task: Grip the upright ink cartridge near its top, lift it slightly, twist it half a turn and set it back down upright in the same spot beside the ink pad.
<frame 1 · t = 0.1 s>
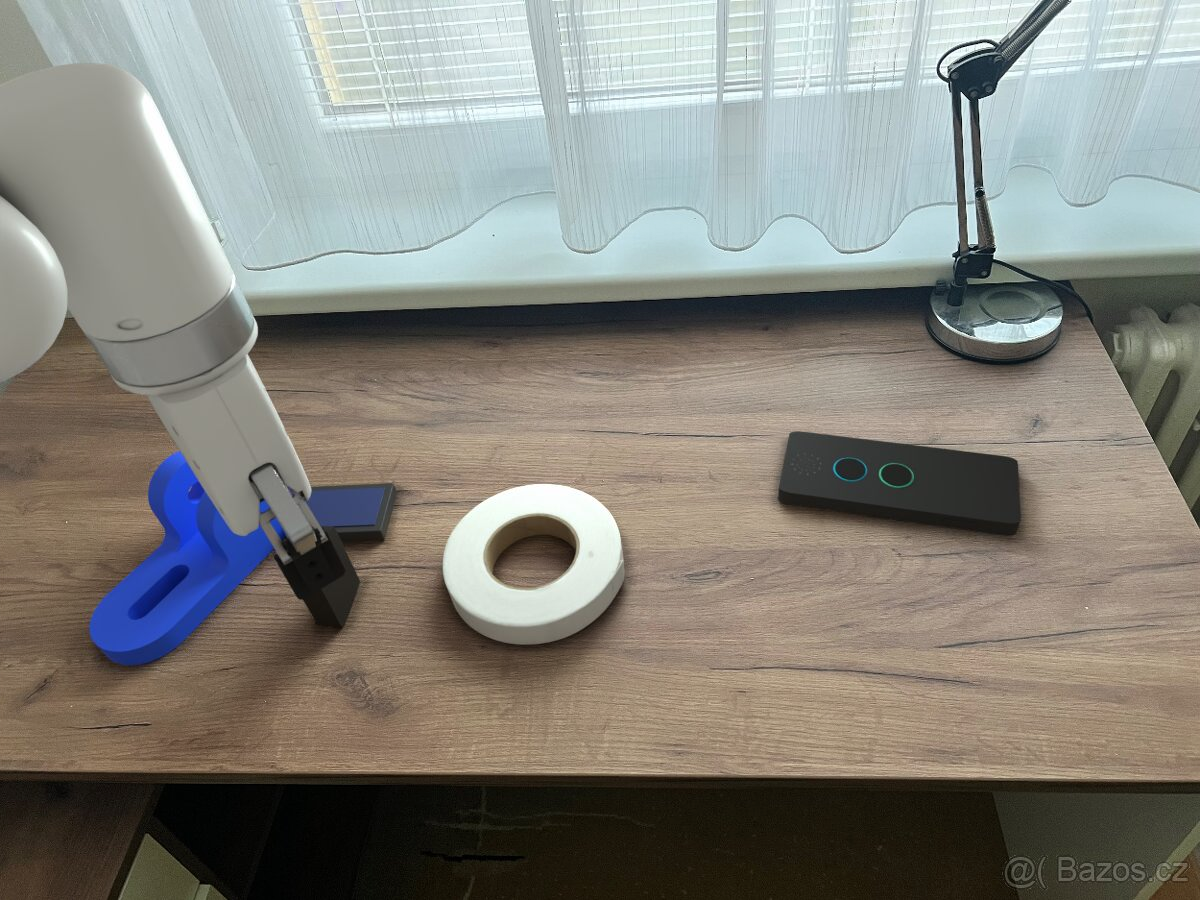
hand: (289, 539, 57), 18 cm above the table, tool pointing down, fingers open, 9 cm apart
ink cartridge: (340, 606, 76), on the table
tape roll: (537, 571, 76), on the table
ink pad: (345, 517, 83), on the table
smart home device: (894, 487, 79), on the table
bracket: (194, 583, 79), on the table
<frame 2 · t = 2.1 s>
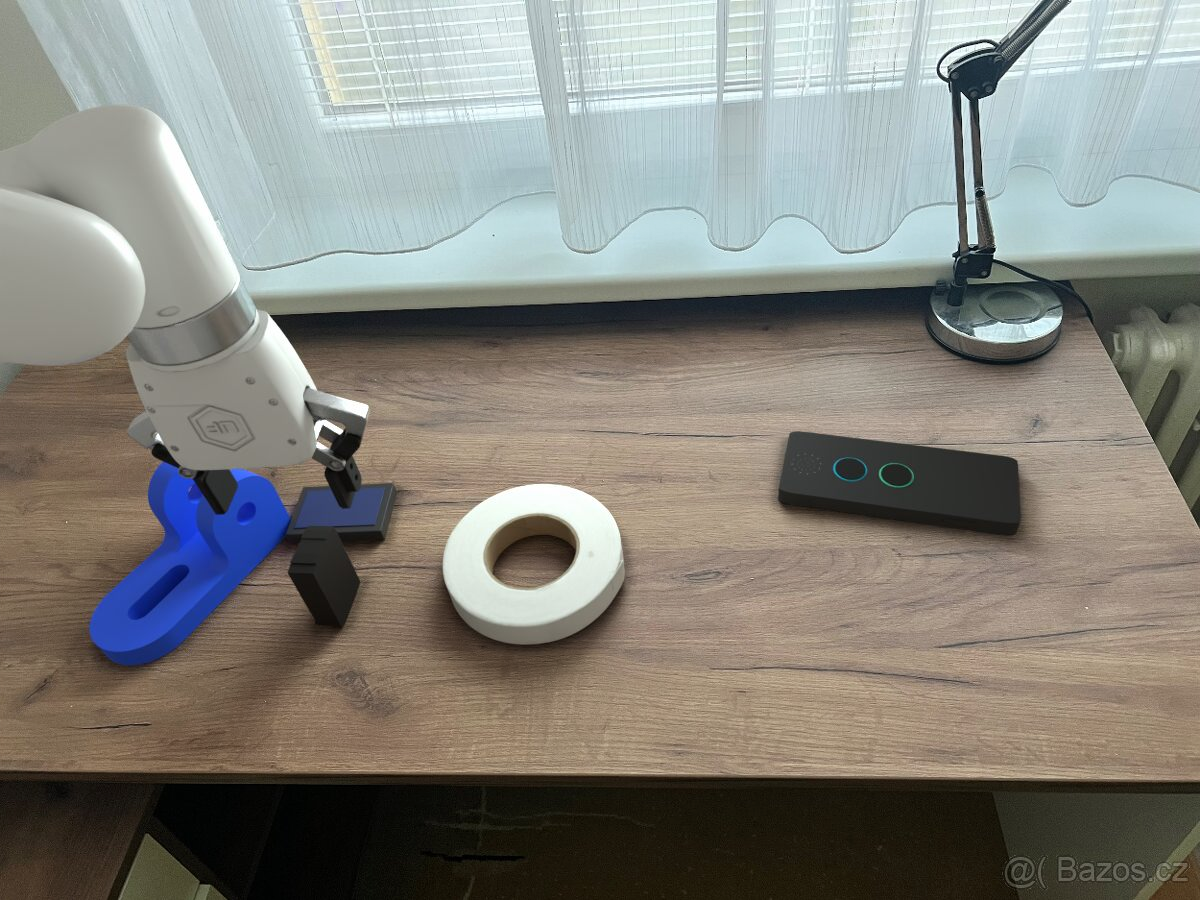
hand: (289, 497, 66), 13 cm above the table, tool pointing down, fingers open, 9 cm apart
nothing on the table moved.
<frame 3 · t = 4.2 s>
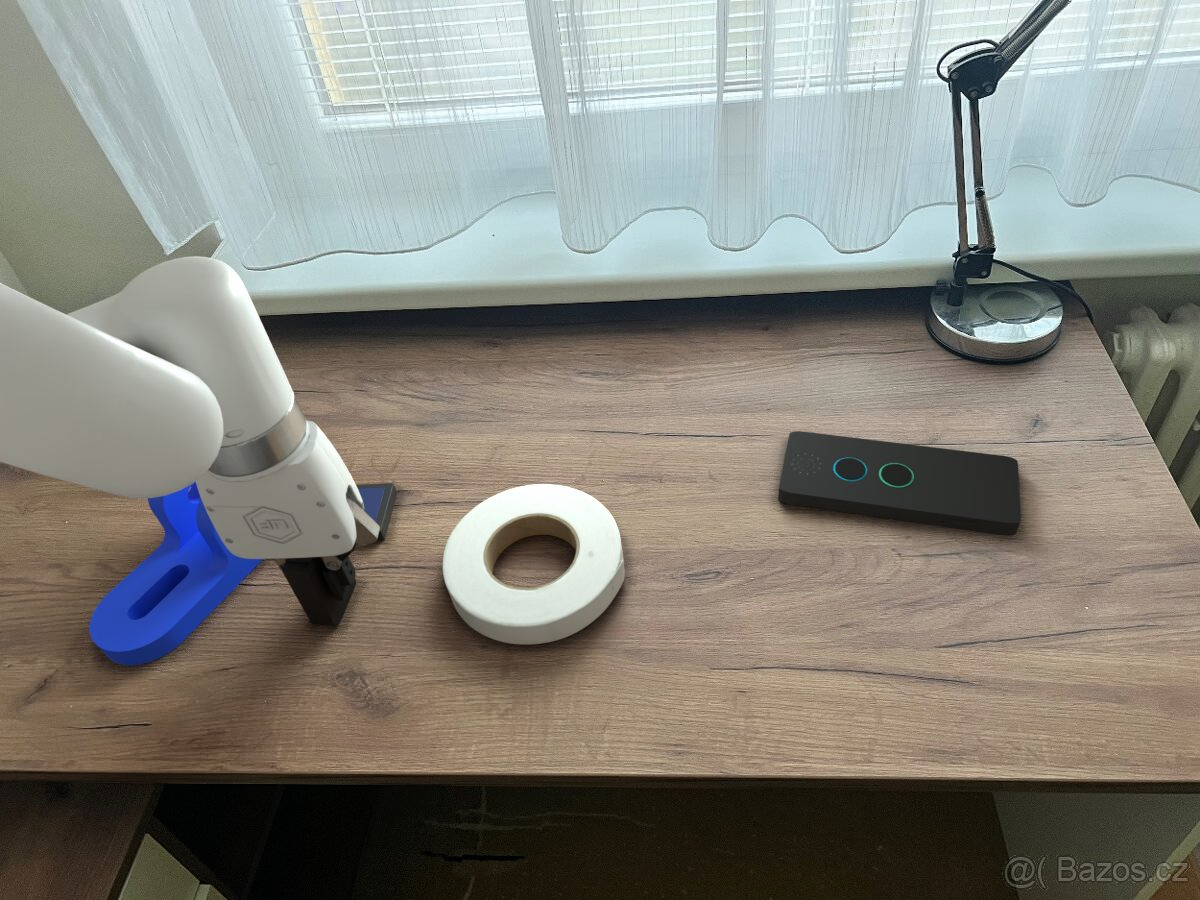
hand: (331, 586, 74), 3 cm above the table, tool pointing down, fingers closed on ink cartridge
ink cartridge: (335, 605, 76), on the table, touching gripper
everything else where it was.
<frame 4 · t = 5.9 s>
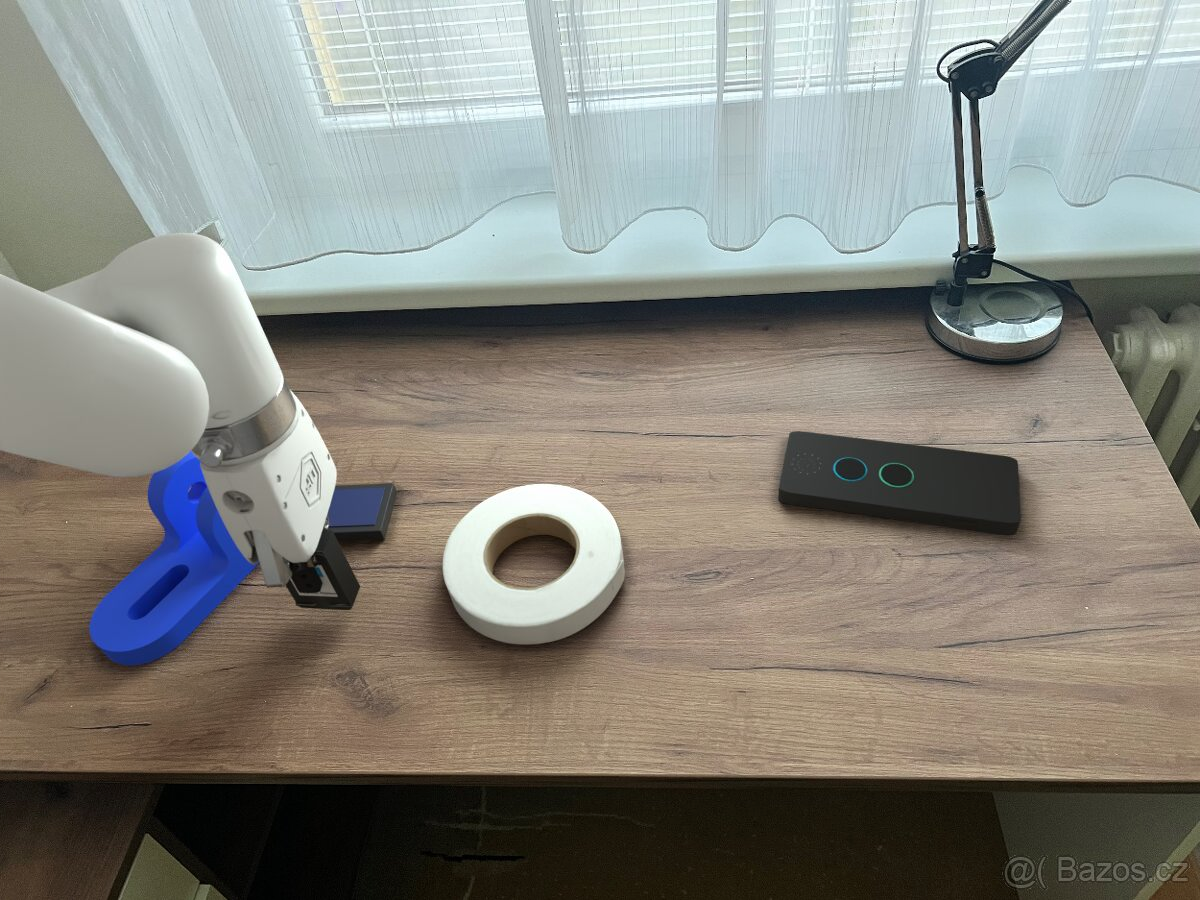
hand: (322, 575, 72), 4 cm above the table, tool pointing down, fingers closed on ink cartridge
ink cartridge: (331, 600, 74), point 2 cm above the table, touching gripper
everything else where it was.
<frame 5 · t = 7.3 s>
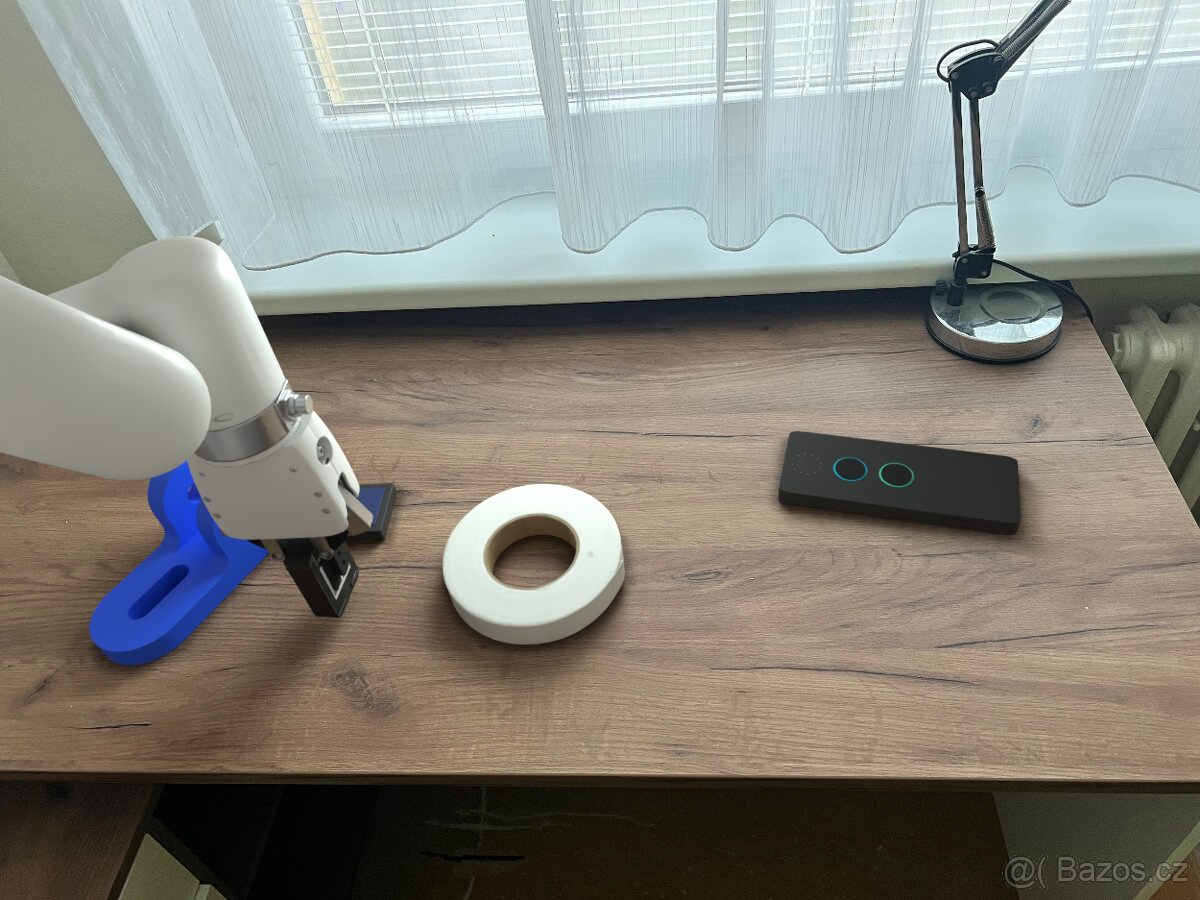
hand: (324, 576, 73), 4 cm above the table, tool pointing down, fingers closed on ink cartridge
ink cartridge: (339, 596, 74), point 1 cm above the table, touching gripper
everything else where it was.
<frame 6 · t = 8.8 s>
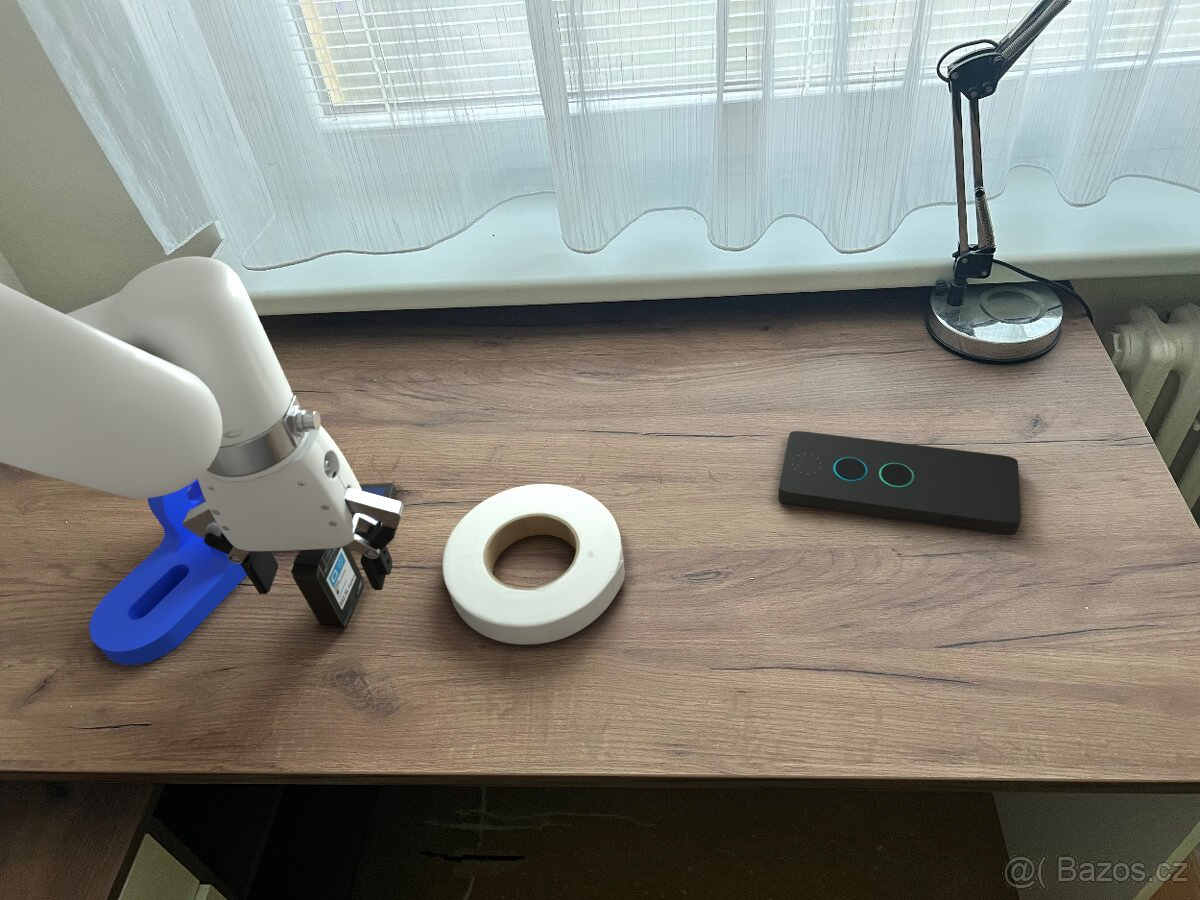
hand: (325, 578, 73), 4 cm above the table, tool pointing down, fingers open, 9 cm apart
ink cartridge: (345, 606, 75), on the table
everything else where it was.
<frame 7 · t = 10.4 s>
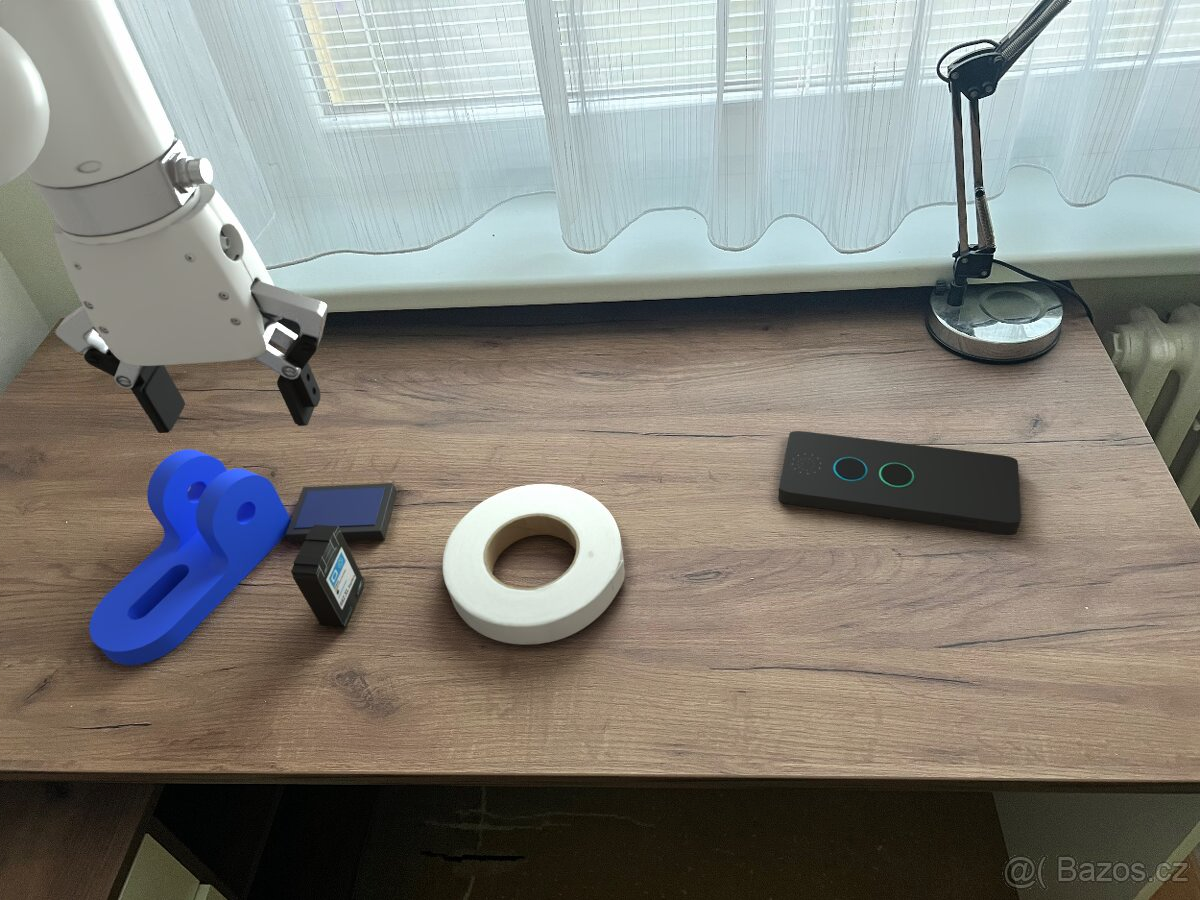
hand: (240, 415, 60), 22 cm above the table, tool pointing down, fingers open, 9 cm apart
nothing on the table moved.
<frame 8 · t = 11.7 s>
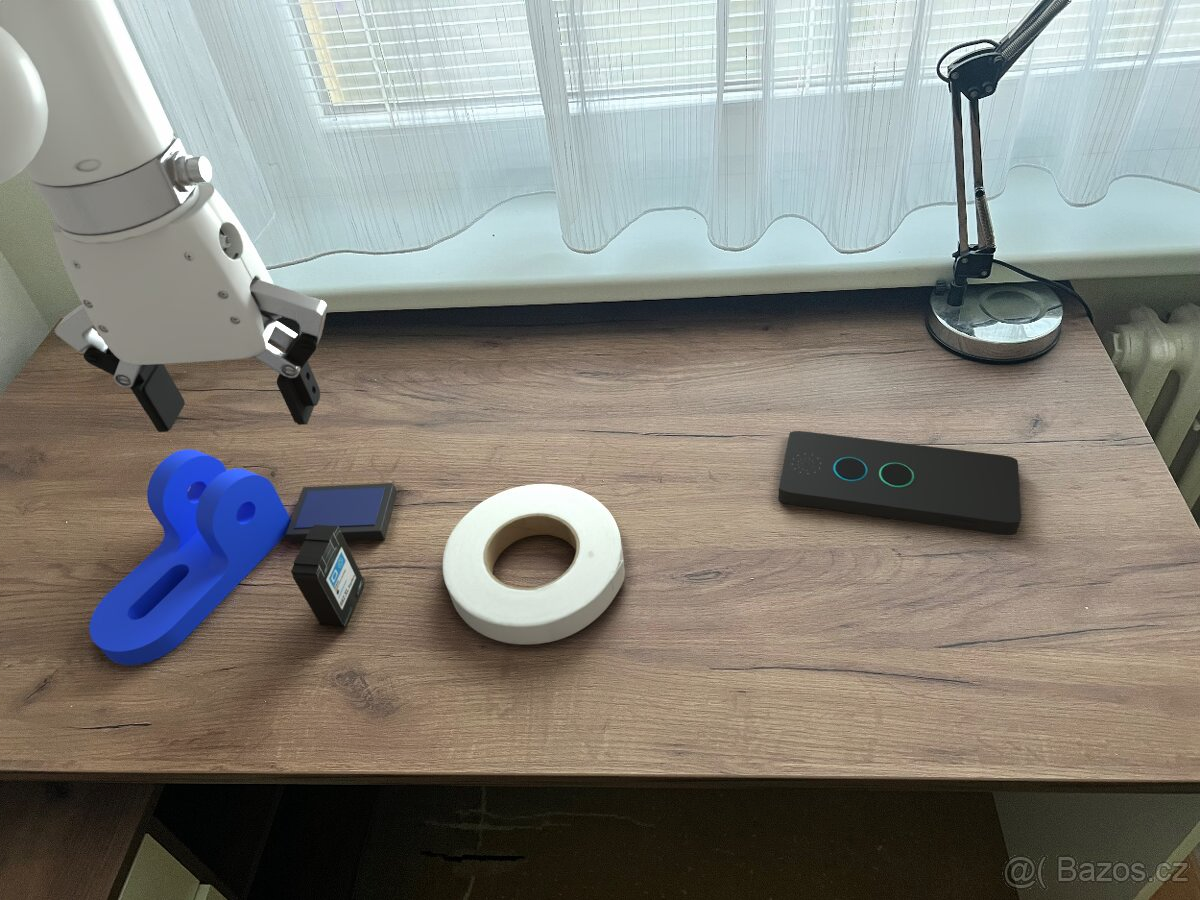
hand: (240, 414, 60), 22 cm above the table, tool pointing down, fingers open, 9 cm apart
nothing on the table moved.
at the end: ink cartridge 0.5 cm from the target spot, on the table; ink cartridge tilted 0°; the gripper is holding nothing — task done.
